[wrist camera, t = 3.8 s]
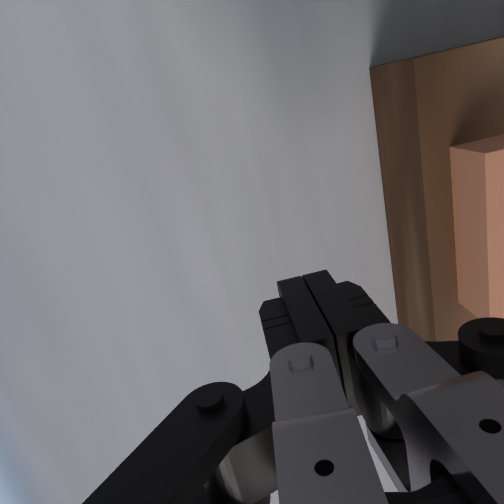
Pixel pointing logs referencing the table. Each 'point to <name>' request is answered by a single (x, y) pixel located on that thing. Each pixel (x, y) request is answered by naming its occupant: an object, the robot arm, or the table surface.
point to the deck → (431, 170)
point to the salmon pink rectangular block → (479, 224)
